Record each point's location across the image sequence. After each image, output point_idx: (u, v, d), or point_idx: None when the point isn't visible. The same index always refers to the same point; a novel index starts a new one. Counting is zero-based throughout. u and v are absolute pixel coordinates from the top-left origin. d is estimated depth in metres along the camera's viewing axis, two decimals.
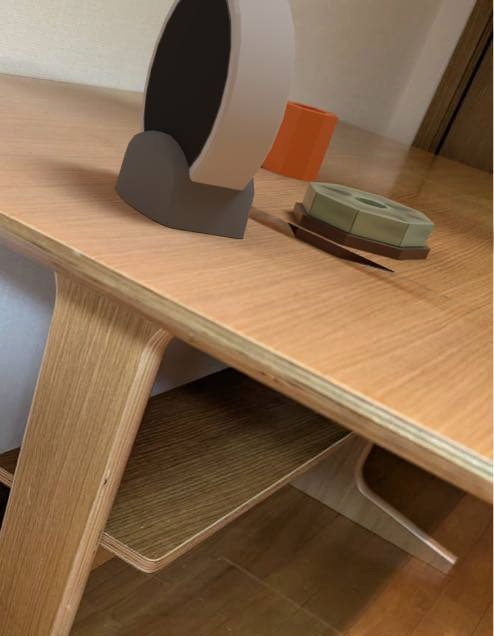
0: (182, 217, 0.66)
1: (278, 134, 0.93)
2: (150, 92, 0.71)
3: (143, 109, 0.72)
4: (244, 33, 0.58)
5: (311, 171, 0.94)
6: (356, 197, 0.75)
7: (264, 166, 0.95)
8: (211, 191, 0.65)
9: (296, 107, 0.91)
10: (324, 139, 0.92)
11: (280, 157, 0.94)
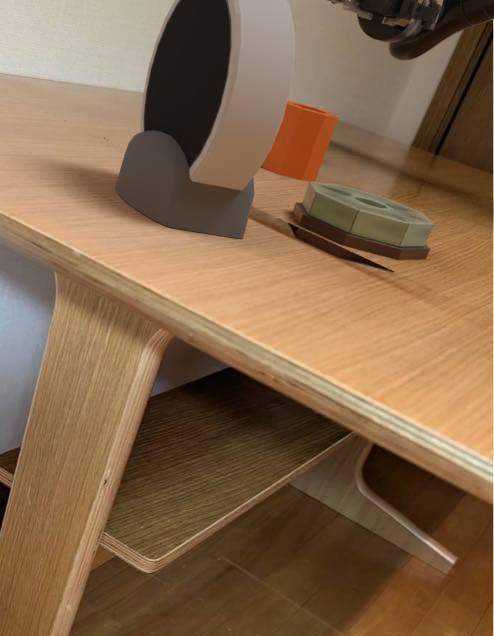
0: (182, 217, 0.66)
1: (278, 134, 0.93)
2: (150, 92, 0.71)
3: (143, 109, 0.72)
4: (244, 33, 0.58)
5: (311, 171, 0.94)
6: (356, 197, 0.75)
7: (264, 166, 0.95)
8: (211, 191, 0.65)
9: (296, 107, 0.91)
10: (324, 139, 0.92)
11: (280, 157, 0.94)
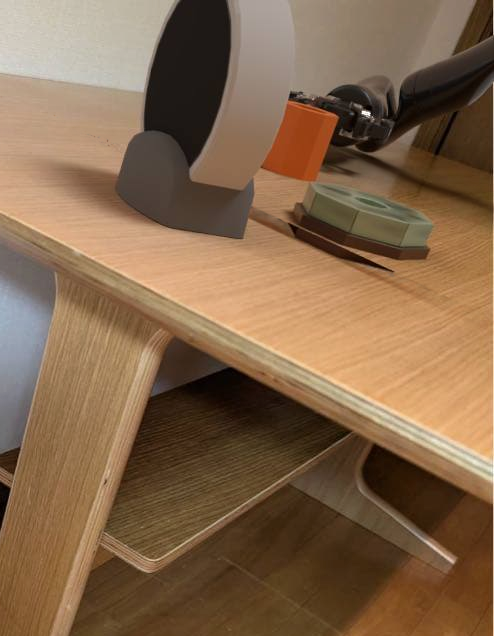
0: (182, 217, 0.66)
1: (278, 134, 0.93)
2: (150, 92, 0.71)
3: (143, 109, 0.72)
4: (244, 33, 0.58)
5: (311, 171, 0.94)
6: (356, 197, 0.75)
7: (264, 166, 0.95)
8: (211, 191, 0.65)
9: (296, 107, 0.91)
10: (324, 139, 0.92)
11: (280, 157, 0.94)
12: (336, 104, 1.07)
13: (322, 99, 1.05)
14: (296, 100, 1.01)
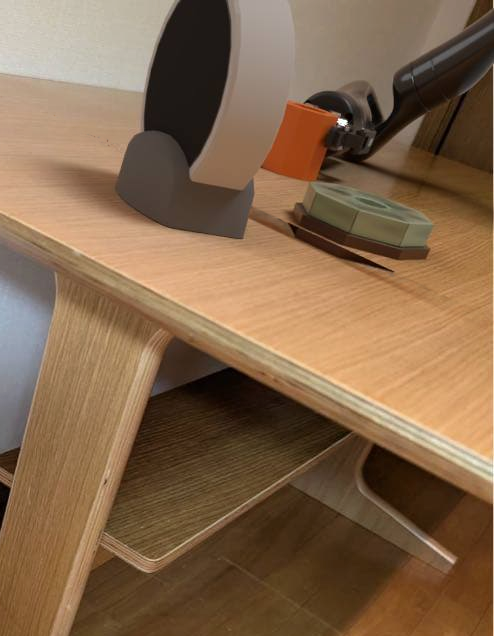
0: (182, 217, 0.66)
1: (278, 134, 0.93)
2: (150, 92, 0.71)
3: (143, 109, 0.72)
4: (244, 33, 0.58)
5: (311, 171, 0.94)
6: (356, 197, 0.75)
7: (264, 166, 0.95)
8: (211, 191, 0.65)
9: (296, 107, 0.91)
10: (324, 139, 0.92)
11: (280, 157, 0.94)
12: None
13: None
14: None
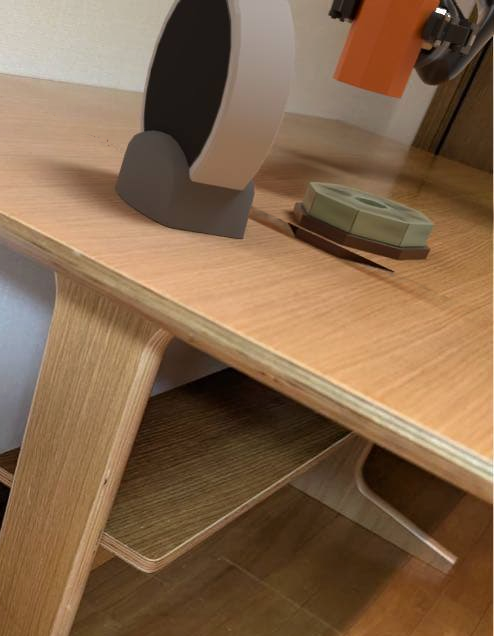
0: (182, 217, 0.66)
1: (363, 24, 0.74)
2: (150, 92, 0.71)
3: (143, 109, 0.72)
4: (244, 33, 0.58)
5: (402, 72, 0.76)
6: (356, 197, 0.75)
7: (343, 67, 0.77)
8: (211, 191, 0.65)
9: None
10: (421, 29, 0.74)
11: (364, 54, 0.75)
12: None
13: None
14: None
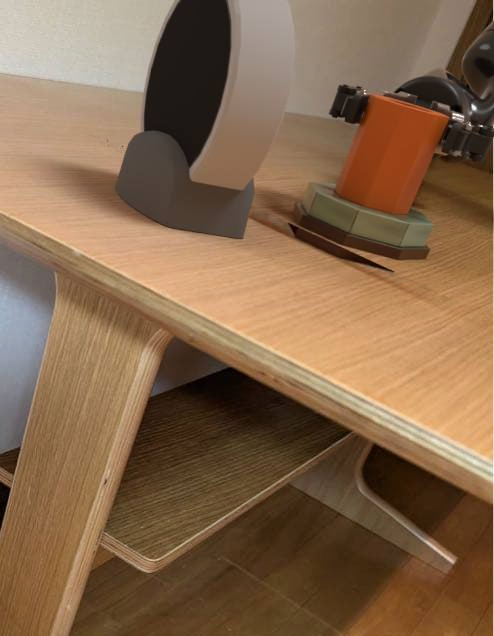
0: (182, 217, 0.66)
1: (367, 140, 0.69)
2: (150, 92, 0.71)
3: (143, 109, 0.72)
4: (244, 33, 0.58)
5: (409, 190, 0.71)
6: None
7: (345, 182, 0.72)
8: (211, 191, 0.65)
9: (394, 104, 0.67)
10: (429, 147, 0.69)
11: (369, 171, 0.70)
12: None
13: (392, 97, 0.73)
14: (359, 98, 0.69)
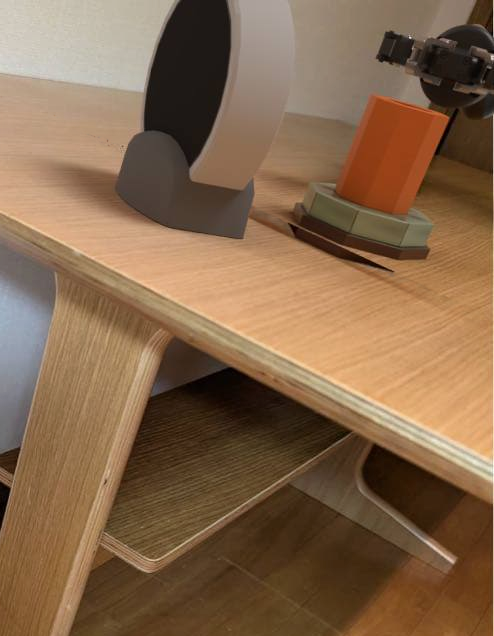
0: (182, 217, 0.66)
1: (367, 140, 0.69)
2: (150, 92, 0.71)
3: (143, 109, 0.72)
4: (244, 33, 0.58)
5: (409, 190, 0.71)
6: None
7: (345, 182, 0.72)
8: (211, 191, 0.65)
9: (394, 104, 0.67)
10: (429, 147, 0.69)
11: (369, 171, 0.70)
12: (451, 49, 0.81)
13: (435, 42, 0.80)
14: (406, 40, 0.76)
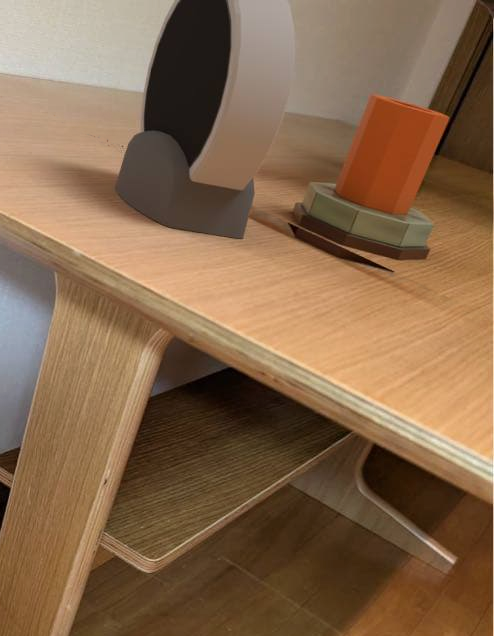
0: (182, 217, 0.66)
1: (367, 140, 0.69)
2: (150, 92, 0.71)
3: (143, 109, 0.72)
4: (244, 33, 0.58)
5: (409, 190, 0.71)
6: None
7: (345, 182, 0.72)
8: (211, 191, 0.65)
9: (394, 104, 0.67)
10: (429, 147, 0.69)
11: (369, 171, 0.70)
12: None
13: None
14: None
